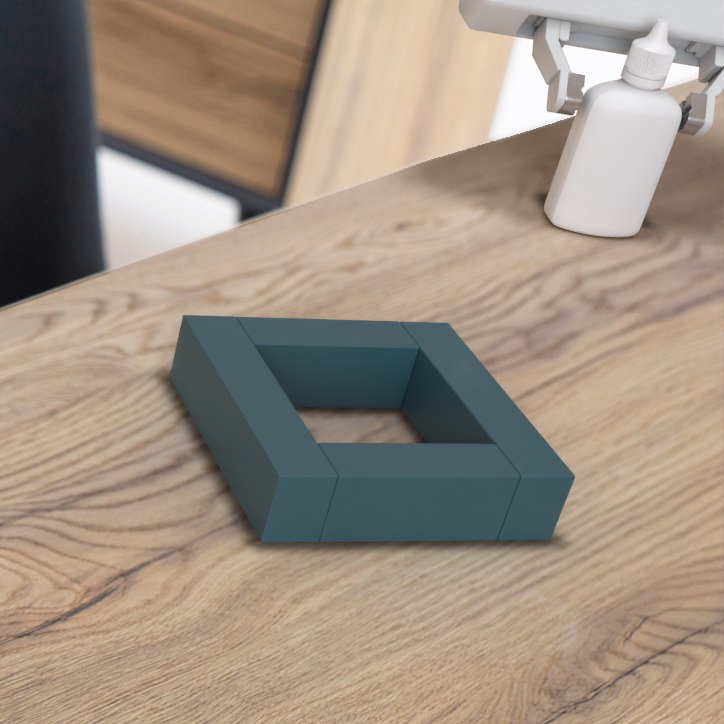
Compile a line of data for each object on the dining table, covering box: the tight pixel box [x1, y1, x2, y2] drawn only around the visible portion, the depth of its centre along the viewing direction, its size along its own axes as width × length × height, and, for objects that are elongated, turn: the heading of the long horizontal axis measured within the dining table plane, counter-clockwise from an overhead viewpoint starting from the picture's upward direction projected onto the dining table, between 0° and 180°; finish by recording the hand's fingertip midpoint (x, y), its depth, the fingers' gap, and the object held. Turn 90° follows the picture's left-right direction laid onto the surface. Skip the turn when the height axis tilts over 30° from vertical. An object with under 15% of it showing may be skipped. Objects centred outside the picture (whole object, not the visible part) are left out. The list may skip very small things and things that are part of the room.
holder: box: [169, 314, 576, 543], centre depth 74 cm, size 13×13×4 cm
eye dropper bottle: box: [543, 19, 682, 238], centre depth 99 cm, size 4×6×12 cm
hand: (629, 120), depth 98 cm, fingers open, 6 cm apart
